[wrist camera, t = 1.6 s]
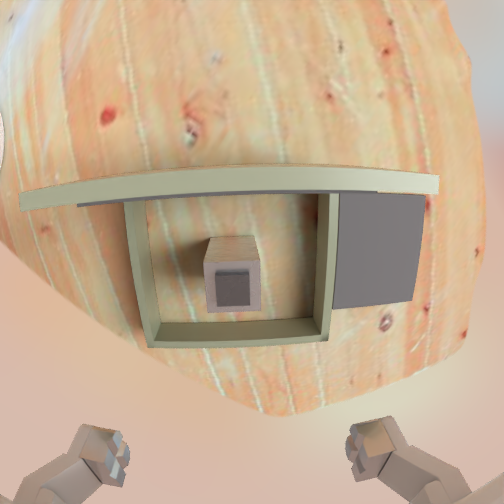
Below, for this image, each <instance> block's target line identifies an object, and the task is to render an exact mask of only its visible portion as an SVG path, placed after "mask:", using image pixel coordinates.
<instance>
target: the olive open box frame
mask: <svg viewBox="0 0 504 504" xmlns="http://www.w3.org/2000/svg"><path fill="white" fill-rule="evenodd" d="M377 191H390V192H410V193H426V194H438V191H439V175H433V174H426V173H418V172H410V171H402V170H393V169H383V168H373V167H361V166H348V165H329V164H240V165H216V166H198V167H184V168H171V169H160V170H150V171H140V172H131V173H123V174H116V175H109V176H103V177H97V178H91V179H85V180H80V181H74V182H69V183H64V184H59V185H54V186H49V187H45V188H40V189H36V190H31V191H27V192H23V193H19V203H20V211H21V212H23V211H29V210H36V209H42V208H49V207H56V206H63V205H71V204H77V207H83V206H92V205H101V204H110V203H121V202H123V203H124V213H125V222H126V231H127V239H128V246H129V253H130V260H131V267H132V273H133V279H134V285H135V290H136V296H137V301H138V306H139V311H140V316H141V321H142V325H143V330H144V334H145V338H146V343H147V347H148V348H237V347H259V346H275V345H289V344H301V343H311V342H321V341H328V338H329V330H330V321H331V312H332V302H333V291H334V279H335V266H336V251H337V233H338V208H339V194H377ZM301 193H318V228H317V255H316V275H315V292H314V307H313V317H308V318H295V319H281V320H264V321H243V322H213V323H161V319H160V313H159V307H158V302H157V296H156V289H155V283H154V276H153V269H152V262H151V254H150V246H149V237H148V228H147V218H146V207H145V200H155V199H169V198H184V197H201V196H221V195H248V194H301Z"/></svg>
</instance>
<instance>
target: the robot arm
mask: <svg viewBox="0 0 504 504" xmlns="http://www.w3.org/2000/svg"><path fill="white" fill-rule="evenodd" d="M3 151H4V126H3V120H2V116H1V113H0V169H1V165H2V159H3ZM350 433H351V435H350V436H348V437H347V440H346V448H345V449H346V455H347V457H348V460H350V461H351V462H353V463H354V464H353V466H352V468H351V469H352V472H353V475H354V478H355V481H356V482H359V481H363V480H367V479H372V478H375V477H378V479H379V480H380V481H382V482H383V483H384V484H386V485H387V486H388V487H390V488H391V489H392V490H394V491H395V492H397V493H398V494H399V495H400V496H402V497H403V498H405V499H406V500H407V501H409V502H410V503H409V504H504V472H503V473H501V474H500V475H499V476H497V477H496V478H494V479H493V480H491V481H490V482H488V483H487V484H485V485H484V486H482V487H480V488H479V489H477V490H476V491H474V492H471V490H470V488H469V487H468V484H467V483H466V481H465V479H464V477H463V476H462V474H461V472H460V471H459V469H458V468H456V467H454V466H452V465H450V464H448V463H446V462H444V461H442V460H440V459H438V458H436V457H434V456H432V455H430V454H428V453H426V452H424V451H422V450H420V449H418V448H417V447H415V446H413V445H412V446H409V445H408V444H407V441H406V440H405V438H404V436H403V434H402V432H401V430H400V429H399V427H398V425H397V423H396V421H395V420H394V418H393V417H392V416H387V417H383V418H379V419H374V420H369V421H365V422H361V423H357V424H353V425H352V426H351V428H350ZM122 438H123V436H122V434H121V432H120V431H117V430H111V429H105V428H100V427H96V426H91V425H86V424H82V425H81V426H80V427H79V429H78V431H77V433H76V435H75V438H74V440H73V442H72V444H71V446H70V448H69V451H68V453H67V454H62V455H61V456H59V457H57V458H56V459H54V460H53V461H51V462H49V463H48V464H46V465H44V466H43V467H41V468H40V469H38V470H36V471H35V472H33V473H31V474H30V475H28V476H26V477H25V478H24V479H23V481H22V483H21V485H20V487H19V489H18V491H17V494H16V496H15V498H14V500H13V501H11V500H9V499H7V498H6V497H4V496H2V495H1V494H0V504H81V503H82V502H83V501H85V500H86V499H87V498H88V497H89V496H90V495H91V494H93V493H94V492H95V491H96V490H97V489H98V488H99V487H100V486H101V485H102V484H107V485H112V486H117V487H122V486H123V482H124V479H125V475H126V474H125V472H124V470H123V469H124V468H125V467H126V466H128V463H129V460H130V451H129V447H128V445H127V443H125V442H124V441H122Z"/></svg>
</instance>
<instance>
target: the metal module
mask: <svg viewBox="0 0 504 504" xmlns="http://www.w3.org/2000/svg"><path fill="white" fill-rule="evenodd" d="M203 268H204V279H205V290H206V301H207V311H208V313H215V312H244V311H261V282H260V258H259V254H258V249H257V245H256V241H255V237H254V236H233V237H211V239H210V242H209V245H208V248H207V251H206V255H205V258H204V261H203Z"/></svg>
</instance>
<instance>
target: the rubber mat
mask: <svg viewBox="0 0 504 504" xmlns="http://www.w3.org/2000/svg"><path fill="white" fill-rule="evenodd" d="M425 197H426V196H424V195H412V194H391V193H377V194H339V208H338V233H337V251H336V266H335V279H334V291H333V302H332V309H333V310H334V309H344V308H354V307H364V306H373V305H382V304H390V303H398V302H406V301H412V298H413V292H414V287H415V282H416V276H417V270H418V263H419V256H420V249H421V241H422V233H423V223H424V212H425Z"/></svg>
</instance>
